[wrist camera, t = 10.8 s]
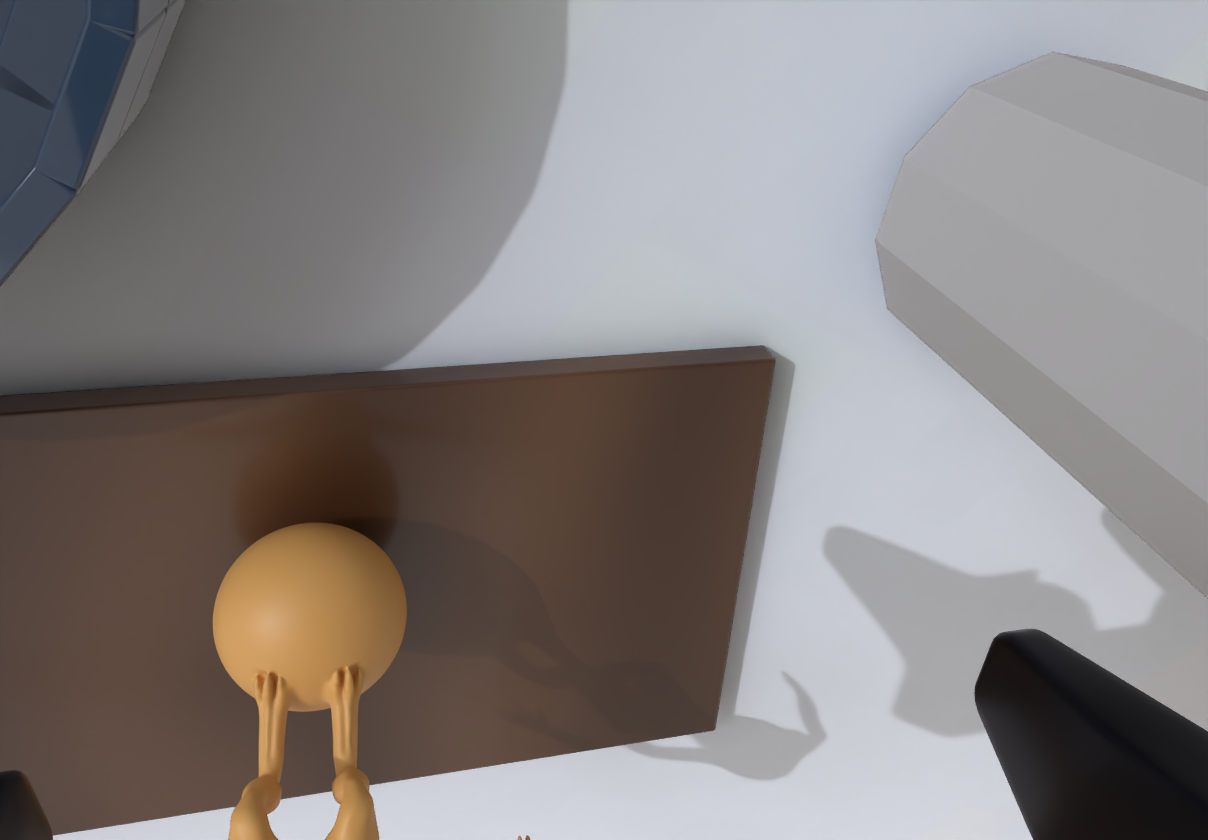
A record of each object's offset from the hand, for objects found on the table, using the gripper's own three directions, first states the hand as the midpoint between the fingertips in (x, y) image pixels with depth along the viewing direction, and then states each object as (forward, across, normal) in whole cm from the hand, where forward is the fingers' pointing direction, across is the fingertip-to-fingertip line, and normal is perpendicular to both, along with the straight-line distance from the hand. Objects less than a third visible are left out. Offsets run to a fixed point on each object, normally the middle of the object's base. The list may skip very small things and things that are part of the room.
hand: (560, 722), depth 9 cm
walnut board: (+12, +3, +10) cm, 16 cm away
